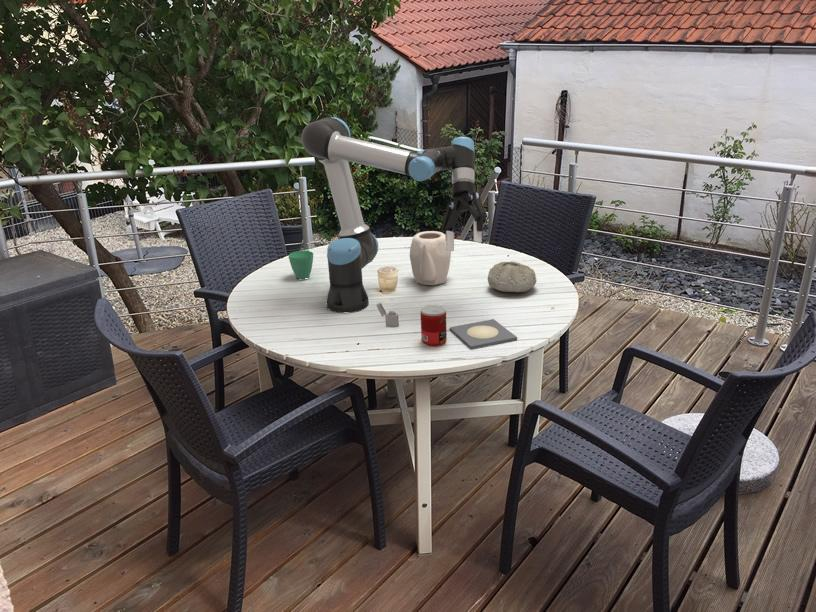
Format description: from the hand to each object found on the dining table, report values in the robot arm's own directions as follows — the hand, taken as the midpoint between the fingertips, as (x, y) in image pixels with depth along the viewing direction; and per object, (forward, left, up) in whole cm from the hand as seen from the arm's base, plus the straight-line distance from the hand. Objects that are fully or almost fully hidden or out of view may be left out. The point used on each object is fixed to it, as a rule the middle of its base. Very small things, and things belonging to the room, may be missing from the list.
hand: (463, 246), depth 222 cm
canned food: (-16, -13, -26) cm, 33 cm away
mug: (-39, +68, -26) cm, 83 cm away
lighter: (-25, +5, -26) cm, 37 cm away
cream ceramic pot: (+4, +38, -26) cm, 46 cm away
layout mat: (0, -15, -25) cm, 29 cm away
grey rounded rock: (+28, +17, -26) cm, 41 cm away
